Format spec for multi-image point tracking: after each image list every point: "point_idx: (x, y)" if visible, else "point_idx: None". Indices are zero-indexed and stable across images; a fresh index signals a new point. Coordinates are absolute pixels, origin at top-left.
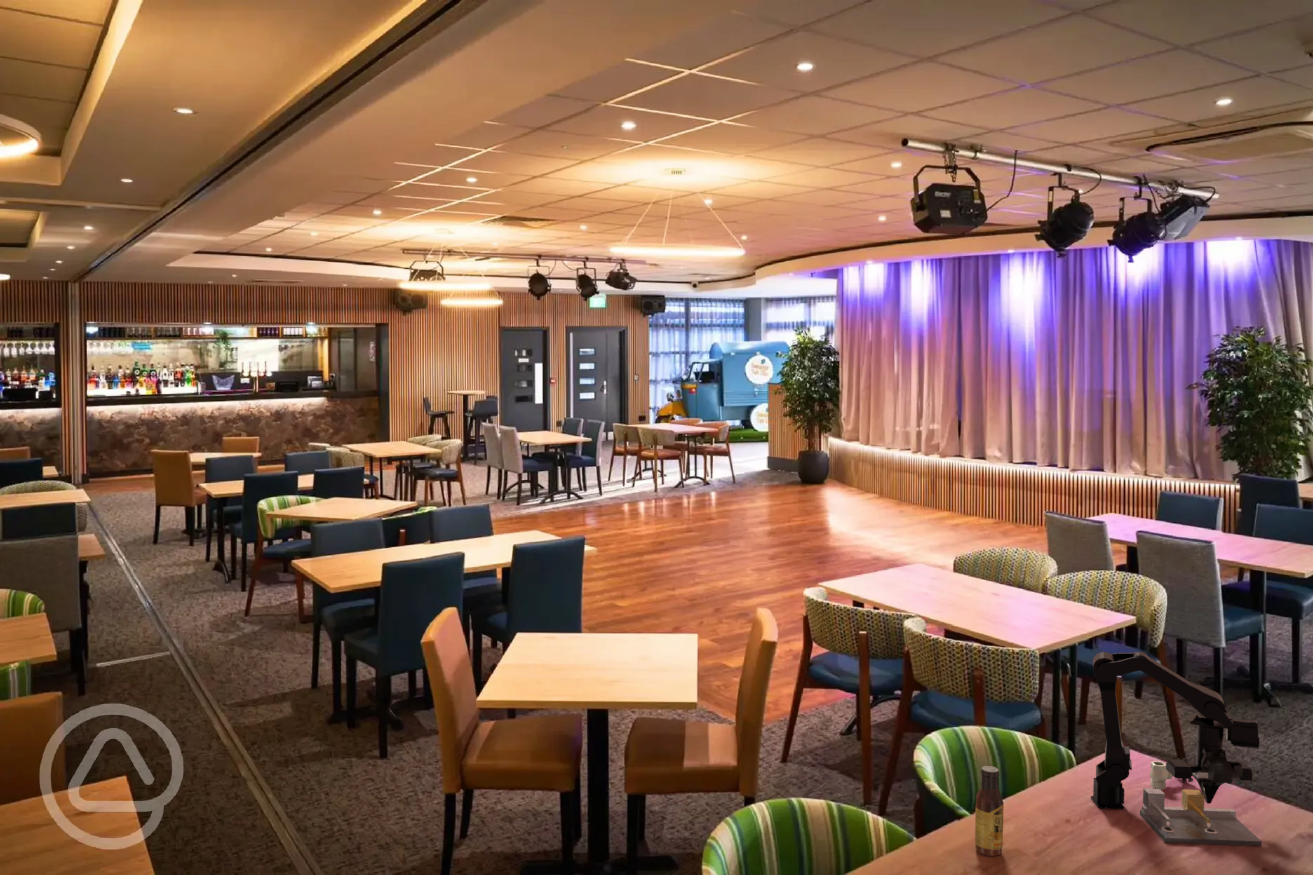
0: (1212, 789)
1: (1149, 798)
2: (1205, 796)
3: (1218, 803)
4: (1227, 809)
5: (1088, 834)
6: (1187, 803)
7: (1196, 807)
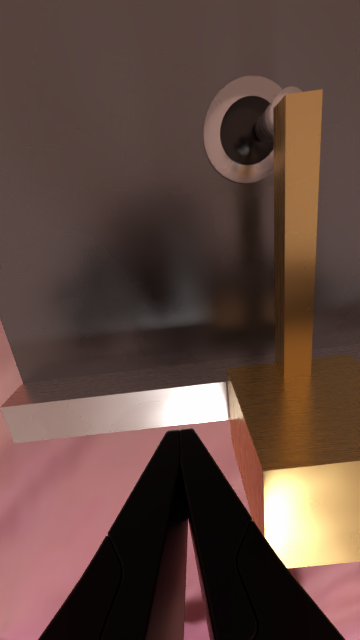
0: (157, 574)
1: None
2: (219, 478)
3: (76, 533)
4: (51, 426)
5: None
6: None
7: (292, 369)
